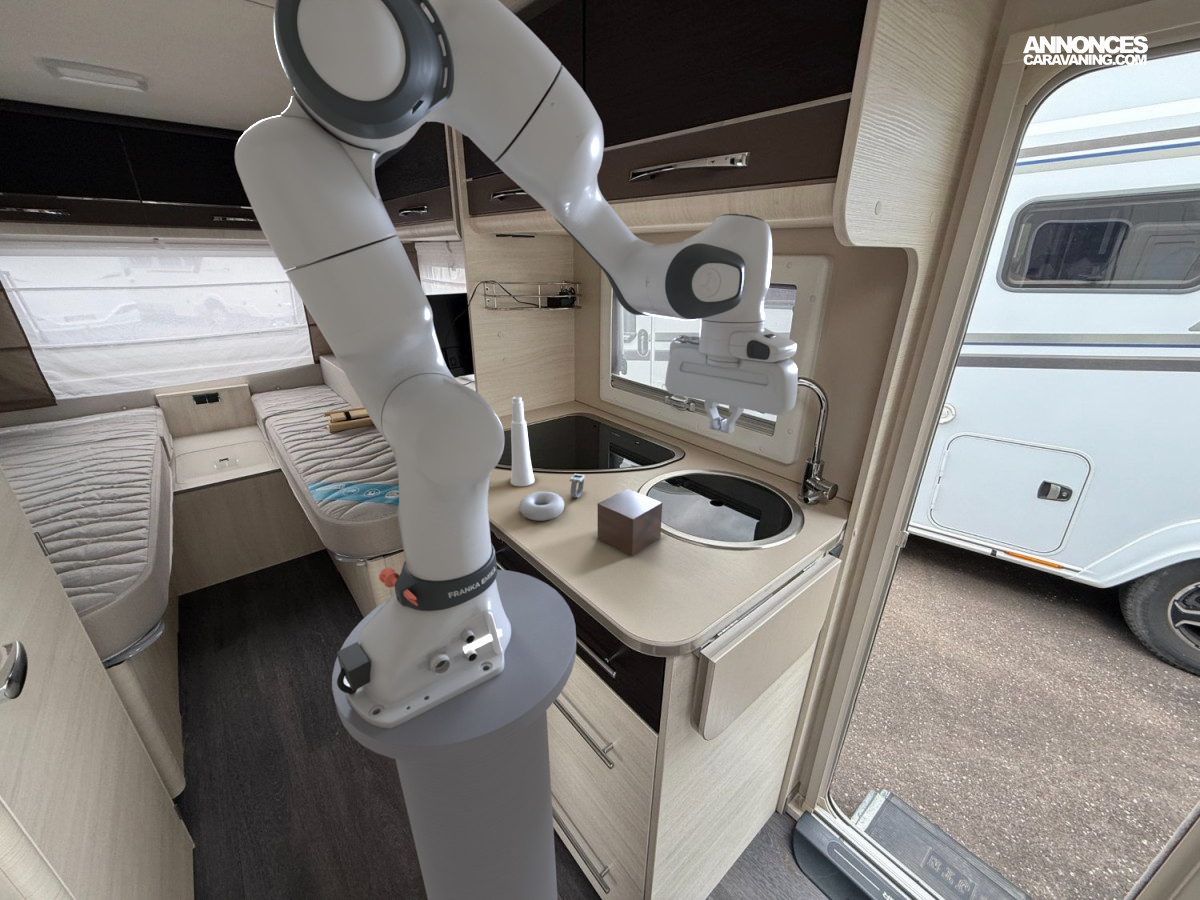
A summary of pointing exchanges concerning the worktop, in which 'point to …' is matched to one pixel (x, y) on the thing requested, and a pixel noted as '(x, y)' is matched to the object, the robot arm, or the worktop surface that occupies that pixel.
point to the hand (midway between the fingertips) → (721, 430)
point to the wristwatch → (576, 479)
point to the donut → (541, 506)
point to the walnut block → (629, 521)
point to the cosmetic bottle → (520, 447)
